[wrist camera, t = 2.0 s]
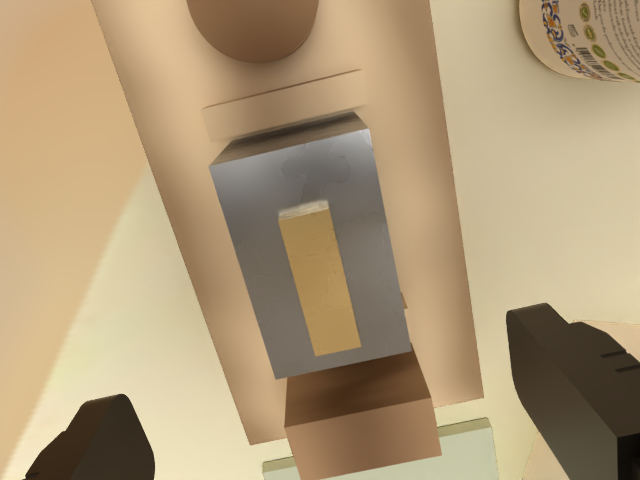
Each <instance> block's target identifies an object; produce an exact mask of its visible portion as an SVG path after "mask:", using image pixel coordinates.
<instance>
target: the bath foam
mask: <svg viewBox="0 0 640 480" xmlns="http://www.w3.org/2000/svg"><path fill="white" fill-rule="evenodd" d="M519 13H520V21H521V26H522V30H523V33H524V36H525V39H526V41H527V43H528V45H529V47H530V48H531V50H532V51H533V53H534V54H535V55H536V56H537V58H538V59H539V60H540V61H541V62H542V63H544V64H545V65H546V66H548V67H549V68H551V69H552V70H554V71H556V72H558V73H560V74H563V75H566V76H570V77H575V78H584V79H596V80H604V81H617V82H630V83H640V0H519Z"/></svg>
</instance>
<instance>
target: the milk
mask: <svg viewBox="0 0 640 480" xmlns="http://www.w3.org/2000/svg"><path fill="white" fill-rule="evenodd" d="M580 321H582V322H584V323H586V324H588V325H591V326H593V327H595V328H597V329H600V330H602V331H604V332H606V333H608V334H609V335H610V336H611V337H612V338H614V339H615V340H616V341H617V342H618V343H619V344H620V345H621V346H622V347H624V348H625V349H626V352H627V353H630V354H631V355H632V356H634V357H635V358H636V359H637V360H638V361H639V362H640V325H633V324H621V323H609V322H598V321H586V320H574V321H573V323H575V322H580ZM522 480H570V479H569V478H568V476H567V474H566V473H565V471H564V470H563V468H562V467H561V465H560V463H559V462H558V460H557V459H556V457H555V456H554V454H553V452H552V451H551V449H550V448H549V446H548V445H547V443H546V441H545V440H544V438H543V437H542V435H541V434H540V432H539V430H538V432H537V436H536V439H535V442H534V445H533V448H532V451H531V454H530V457H529V460H528V463H527V466H526V470H525V473H524V476H523V479H522Z"/></svg>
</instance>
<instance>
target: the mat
mask: <svg viewBox="0 0 640 480" xmlns="http://www.w3.org/2000/svg"><path fill="white" fill-rule="evenodd" d="M437 430H438V435H439V441H440V446H441V452H442V456H437V457H432V458H427V459H422V460H417V461H412V462H406V463H401V464H396V465H391V466H386V467H381V468H376V469H371V470H366V471H361V472H356V473H351V474H346V475H341V476H336V477H331V478H326V479H321V480H499V476H498V469H497V461H496V454H495V447H494V439H493V432H492V426H491V424H490V422H489V420H488V418H483V419H478V420H473V421H468V422H463V423H458V424H453V425H449V426H444V427H439V428H437ZM262 473H263V476H264V479H265V480H301V479H300V476H299V473H298V469H297V466H296V463H295V460H294V457H289V458H285V459H280V460H275V461H270V462H265V463H263V472H262Z"/></svg>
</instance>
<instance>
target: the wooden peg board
mask: <svg viewBox="0 0 640 480" xmlns="http://www.w3.org/2000/svg"><path fill="white" fill-rule="evenodd" d="M91 1H92V4H93V7H94V10H95V13H96V16H97V18H98V21H99V24H100V27H101V30H102V32H103V35H104V38H105V41H106V44H107V46H108V49H109V52H110V54H111V58H112V60H113V63H114V66H115V69H116V72H117V74H118V77H119V80H120V83H121V85H122V88H123V91H124V94H125V97H126V100H127V102H128V105H129V108H130V111H131V114H132V116H133V119H134V122H135V125H136V127H137V130H138V133H139V136H140V139H141V141H142V144H143V147H144V150H145V153H146V156H147V158H148V161H149V164H150V167H151V170H152V172H153V175H154V178H155V181H156V184H157V186H158V189H159V192H160V195H161V198H162V200H163V203H164V206H165V209H166V212H167V214H168V217H169V220H170V223H171V226H172V228H173V231H174V234H175V237H176V240H177V242H178V245H179V248H180V251H181V254H182V256H183V259H184V262H185V265H186V268H187V270H188V273H189V276H190V279H191V282H192V284H193V287H194V290H195V293H196V296H197V298H198V301H199V304H200V307H201V310H202V312H203V315H204V318H205V321H206V324H207V326H208V329H209V332H210V335H211V338H212V340H213V343H214V346H215V349H216V352H217V354H218V357H219V360H220V363H221V366H222V368H223V371H224V374H225V377H226V380H227V382H228V385H229V388H230V391H231V394H232V396H233V399H234V402H235V405H236V408H237V410H238V413H239V416H240V419H241V422H242V424H243V427H244V430H245V433H246V436H247V438H248V441H249V444H250V445H254V444H259V443H264V442H269V441H274V440H279V439H284V438H288V441H289V445H290V448H291V451H292V454H293V457H294V460H295V463H296V466H297V469H298V473H299V476H300V479H301V480H321V479H326V478H331V477H336V476H341V475H346V474H351V473H356V472H361V471H366V470H371V469H376V468H381V467H386V466H391V465H396V464H401V463H406V462H412V461H417V460H422V459H427V458H432V457H437V456H442V452H441V446H440V441H439V435H438V430H437V425H436V419H435V414H434V408H436V407H441V406H446V405H451V404H456V403H461V402H466V401H470V400H475V399H480V398H484V394H483V387H482V380H481V372H480V365H479V358H478V351H477V343H476V336H475V329H474V322H473V314H472V307H471V300H470V293H469V285H468V278H467V271H466V264H465V256H464V249H463V242H462V235H461V227H460V220H459V213H458V206H457V198H456V191H455V184H454V177H453V169H452V162H451V155H450V148H449V140H448V133H447V126H446V119H445V111H444V104H443V97H442V90H441V82H440V75H439V68H438V61H437V53H436V46H435V39H434V32H433V24H432V17H431V10H430V3H429V0H91ZM352 111H354V112H355V113H356V114H357V115H358V116H359V118H360V119H361V120H362V121H363V122H364V123H365V124H366V126H367V127H368V128H369V131H370V136H371V142H372V147H373V152H374V157H375V162H376V167H377V173H378V178H379V183H380V188H381V193H382V199H383V204H384V209H385V214H386V219H387V224H388V230H389V235H390V240H391V245H392V250H393V256H394V261H395V266H396V271H397V276H398V281H399V287H400V292H401V297H402V302H403V307H404V313H405V318H406V323H407V328H408V333H409V338H410V344H411V349H412V351H410V352H405V353H401V354H396V355H391V356H386V357H382V358H377V359H372V360H367V361H363V362H358V363H353V364H348V365H344V366H339V367H334V368H329V369H325V370H320V371H315V372H310V373H306V374H301V375H296V376H291V377H287V378H282V379H277V380H275V376H274V373H273V370H272V367H271V364H270V360H269V357H268V354H267V351H266V348H265V345H264V341H263V338H262V335H261V332H260V329H259V326H258V322H257V319H256V316H255V313H254V310H253V307H252V303H251V300H250V297H249V294H248V291H247V287H246V284H245V281H244V278H243V275H242V272H241V268H240V265H239V262H238V259H237V256H236V253H235V249H234V246H233V243H232V240H231V237H230V234H229V230H228V227H227V224H226V221H225V218H224V214H223V211H222V208H221V205H220V202H219V199H218V195H217V192H216V189H215V186H214V183H213V180H212V176H211V173H210V170H209V167H208V166H209V165H210V164H211V163H212V162H213V161H214V160H215V158H216V157H217V156H218V155H219V154H220V153H221V152H222V151H223V150H224V148H225V147H226V146H227V145H228V144H229V143H230V142H231V141H232V140H235V139H240V138H244V137H248V136H252V135H256V134H261V133H265V132H269V131H273V130H277V129H281V128H286V127H290V126H294V125H298V124H302V123H306V122H311V121H315V120H319V119H323V118H327V117H332V116H336V115H340V114H344V113H348V112H352Z"/></svg>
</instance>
